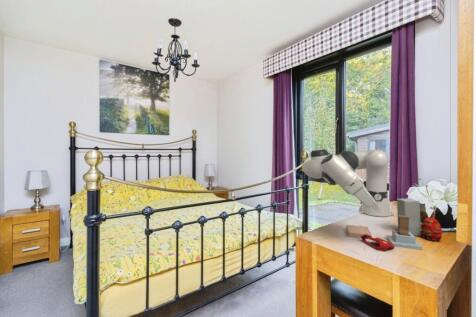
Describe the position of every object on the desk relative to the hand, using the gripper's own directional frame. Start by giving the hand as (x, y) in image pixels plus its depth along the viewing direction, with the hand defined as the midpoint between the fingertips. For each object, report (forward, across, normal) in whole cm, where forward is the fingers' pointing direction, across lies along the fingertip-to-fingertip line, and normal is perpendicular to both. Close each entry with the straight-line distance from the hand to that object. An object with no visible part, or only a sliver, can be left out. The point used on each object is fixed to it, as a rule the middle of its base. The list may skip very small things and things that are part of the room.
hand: (377, 208), depth 103 cm
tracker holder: (+10, +6, -10) cm, 15 cm away
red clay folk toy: (+26, -11, +6) cm, 29 cm away
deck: (+5, -6, -14) cm, 16 cm away
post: (+15, 0, -2) cm, 16 cm away
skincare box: (+21, -16, +1) cm, 26 cm away
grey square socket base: (+16, 0, -3) cm, 17 cm away
